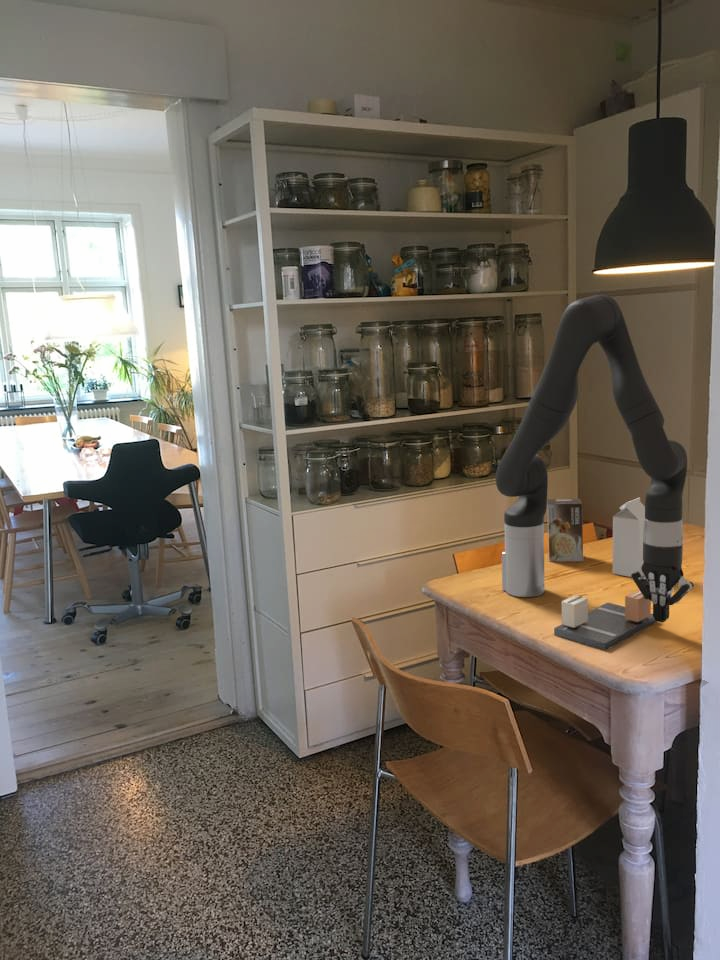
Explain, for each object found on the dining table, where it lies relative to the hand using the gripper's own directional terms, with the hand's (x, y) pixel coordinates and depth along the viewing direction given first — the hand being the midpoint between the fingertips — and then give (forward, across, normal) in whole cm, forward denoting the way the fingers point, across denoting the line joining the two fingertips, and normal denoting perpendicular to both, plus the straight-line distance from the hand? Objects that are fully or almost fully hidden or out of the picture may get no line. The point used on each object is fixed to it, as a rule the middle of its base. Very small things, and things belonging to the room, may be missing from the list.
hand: (660, 620), depth 164 cm
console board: (+2, -9, -6) cm, 11 cm away
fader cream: (0, -13, -11) cm, 17 cm away
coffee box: (+3, -44, +30) cm, 53 cm away
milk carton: (+3, -24, +30) cm, 39 cm away
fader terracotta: (0, -5, 0) cm, 5 cm away
